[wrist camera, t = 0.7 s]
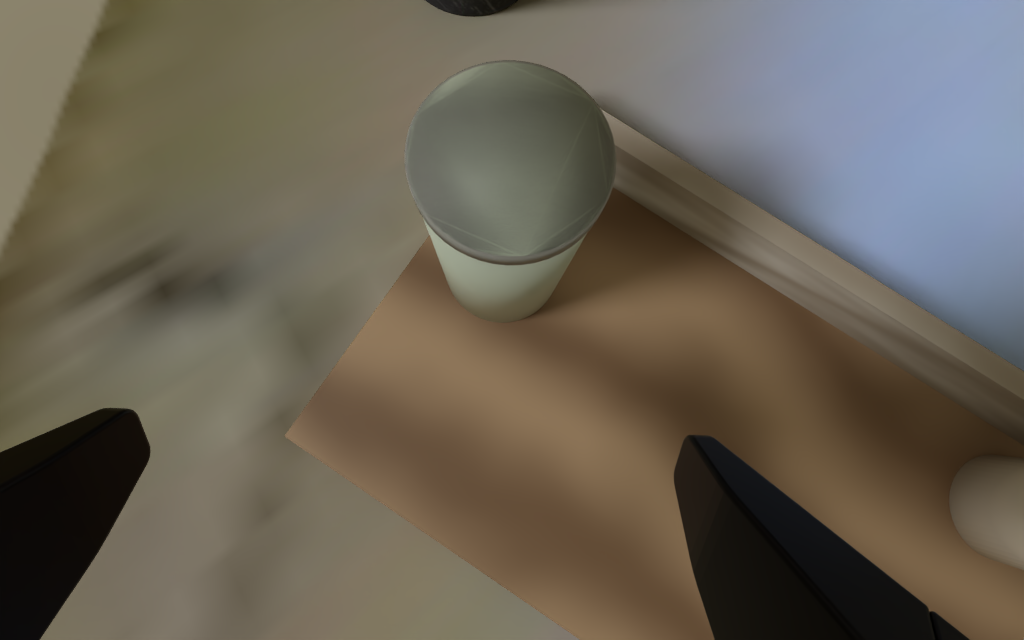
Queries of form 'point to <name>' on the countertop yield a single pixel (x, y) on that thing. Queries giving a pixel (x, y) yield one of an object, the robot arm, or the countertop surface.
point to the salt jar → (991, 507)
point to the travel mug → (471, 6)
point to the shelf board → (672, 411)
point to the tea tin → (508, 181)
